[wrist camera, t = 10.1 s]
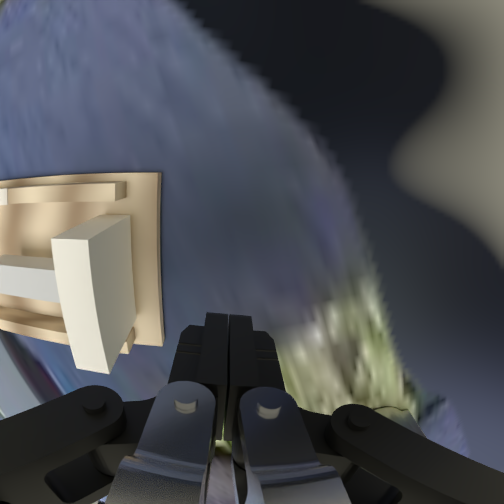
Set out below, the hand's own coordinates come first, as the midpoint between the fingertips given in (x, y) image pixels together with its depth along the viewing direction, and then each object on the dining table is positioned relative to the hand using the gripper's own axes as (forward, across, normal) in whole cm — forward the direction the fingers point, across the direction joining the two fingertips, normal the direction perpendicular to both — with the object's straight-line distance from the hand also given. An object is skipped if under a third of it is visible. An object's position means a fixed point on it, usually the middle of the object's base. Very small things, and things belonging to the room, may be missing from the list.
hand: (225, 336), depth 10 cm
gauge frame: (+9, +16, +2) cm, 19 cm away
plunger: (+8, +11, +1) cm, 14 cm away
